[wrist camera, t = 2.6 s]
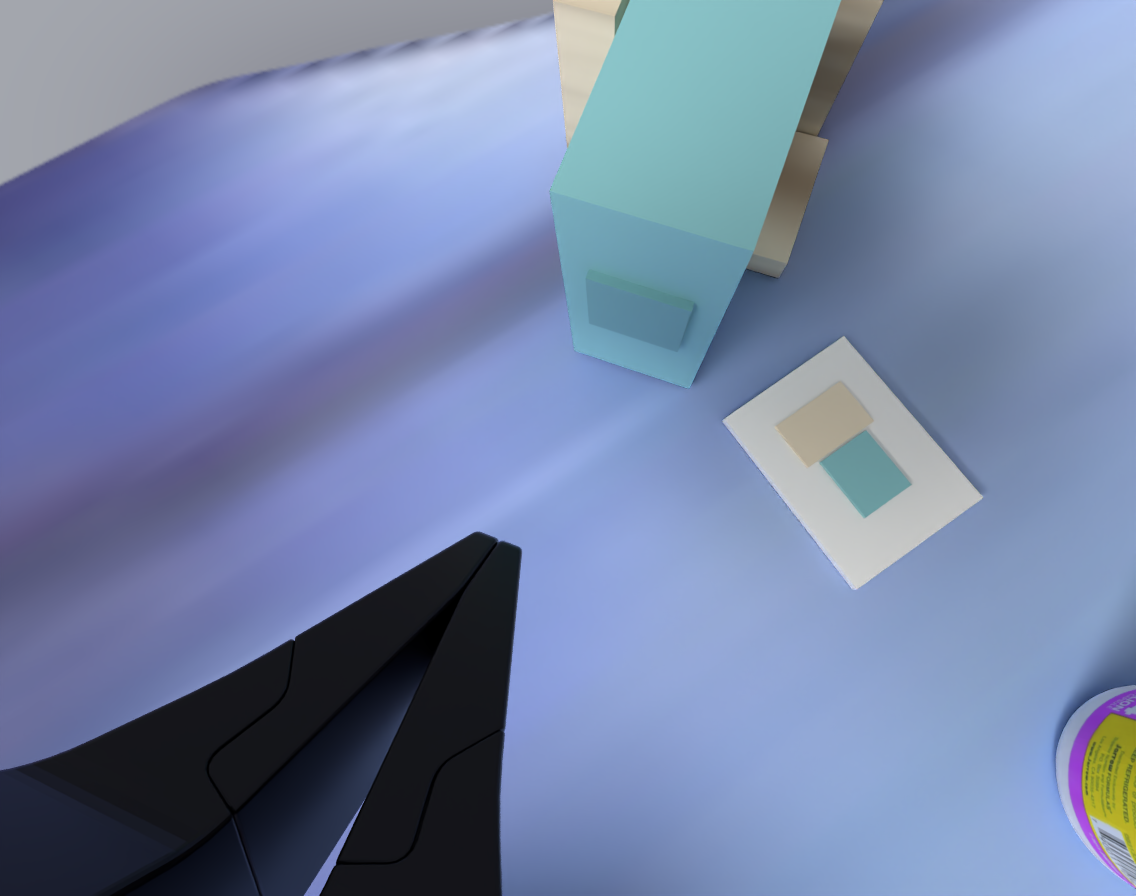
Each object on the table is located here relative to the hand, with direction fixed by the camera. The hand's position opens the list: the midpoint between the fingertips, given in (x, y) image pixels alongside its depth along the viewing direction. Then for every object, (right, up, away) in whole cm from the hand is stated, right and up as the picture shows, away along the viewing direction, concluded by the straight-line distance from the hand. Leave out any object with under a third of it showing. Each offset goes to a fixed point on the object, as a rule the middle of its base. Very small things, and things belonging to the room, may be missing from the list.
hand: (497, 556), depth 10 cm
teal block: (+5, +9, +15) cm, 18 cm away
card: (+12, +1, +13) cm, 18 cm away
